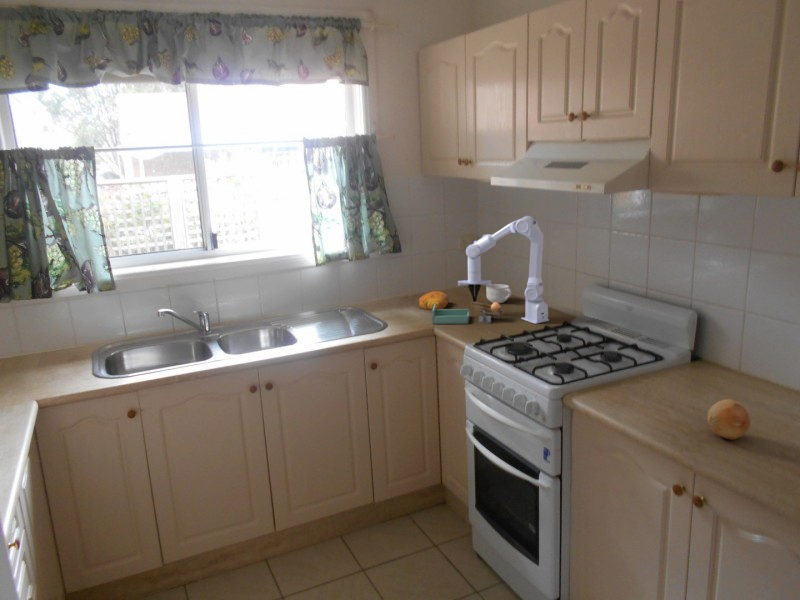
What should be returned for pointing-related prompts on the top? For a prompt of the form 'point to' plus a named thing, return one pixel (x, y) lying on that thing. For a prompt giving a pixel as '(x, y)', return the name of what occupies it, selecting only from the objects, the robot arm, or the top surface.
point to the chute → (486, 309)
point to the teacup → (498, 293)
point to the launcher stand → (484, 318)
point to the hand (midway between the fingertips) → (474, 301)
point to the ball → (495, 306)
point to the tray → (450, 316)
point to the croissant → (434, 300)
